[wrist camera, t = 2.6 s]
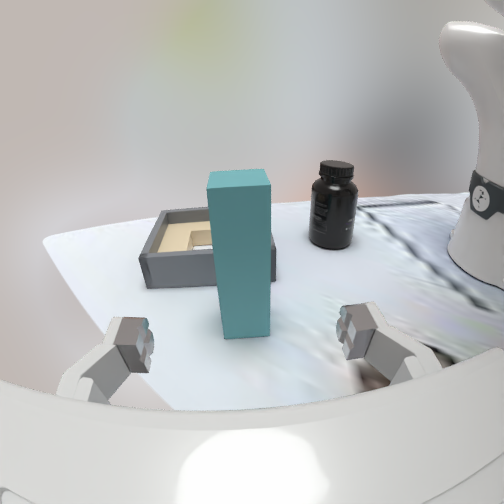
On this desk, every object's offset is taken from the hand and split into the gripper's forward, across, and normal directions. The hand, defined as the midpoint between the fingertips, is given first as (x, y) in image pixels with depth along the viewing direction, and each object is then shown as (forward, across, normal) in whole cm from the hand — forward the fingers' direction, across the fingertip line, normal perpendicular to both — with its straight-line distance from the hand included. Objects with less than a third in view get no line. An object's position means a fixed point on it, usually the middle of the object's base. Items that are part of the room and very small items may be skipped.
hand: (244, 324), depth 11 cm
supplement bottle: (+29, -14, +12) cm, 34 cm away
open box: (+26, +4, +12) cm, 29 cm away
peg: (+13, 0, +12) cm, 18 cm away
